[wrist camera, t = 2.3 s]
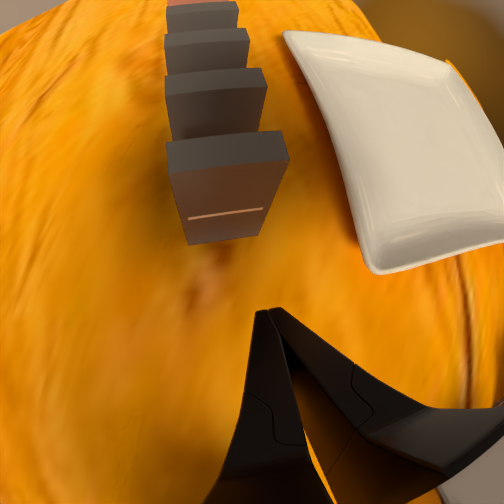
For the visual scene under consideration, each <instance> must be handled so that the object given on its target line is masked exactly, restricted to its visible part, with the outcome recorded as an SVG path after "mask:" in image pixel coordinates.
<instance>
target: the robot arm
mask: <svg viewBox="0 0 504 504" xmlns="http://www.w3.org/2000/svg"><path fill="white" fill-rule="evenodd" d="M303 428H304V429H303ZM304 430H305V432H306V435H307V437H308V439H309V442H310V444H311V446H312V448H313V451H314V453H315V455H316V457H317V460H318V462H319V464H320V466H321V469H322V471H323V473H324V475H325V477H326V480H327V482H328V484H329V486H330V489H331V491H332V493H333V495H334V497H335V500H336V502H337V504H504V404H503V405H501V406H498V407H494V408H483V409H438V408H432V407H429V406H426V405H423V404H421V403H419V402H417V401H415V400H413V399H412V398H410V397H408V396H406V395H404V394H403V393H401V392H399V391H397V390H395V389H394V388H392V387H390V386H388V385H387V384H385V383H383V382H382V381H380V380H378V379H377V378H375V377H374V376H372V375H371V374H369V373H368V372H366V371H365V370H364V369H362V368H361V367H360V366H358V365H357V364H354V362H353V361H351V360H350V359H349V358H347V357H346V356H345V355H343V354H342V353H341V352H339V351H338V350H337V349H335V348H334V347H333V346H331V345H330V344H329V343H327V342H326V341H325V340H323V339H322V338H321V337H319V336H318V335H317V334H315V333H314V332H313V331H311V330H310V329H309V328H308V327H306V326H305V325H304V324H302V323H301V322H300V321H298V320H297V319H296V318H295V317H293V316H292V315H291V314H289V313H288V312H287V311H285V310H284V309H283V308H281V307H276V308H271V309H269V310H267V309H265V310H260V311H256V312H255V317H254V324H253V331H252V338H251V345H250V352H249V358H248V365H247V372H246V378H245V385H244V392H243V397H242V404H241V409H240V414H239V418H238V421H237V425H236V428H235V432H234V435H233V437H232V440H231V443H230V446H229V449H228V452H227V455H226V458H225V461H224V463H223V466H222V469H221V471H220V473H219V476H218V478H217V480H216V482H215V484H214V485H213V487H212V488H211V490H210V491H209V493H208V494H207V496H206V497H205V499H204V500H203V502H202V503H201V504H334V503H333V501H332V499H331V498H330V496H329V494H328V492H327V490H326V488H325V486H324V484H323V482H322V481H321V479H320V477H319V475H318V473H317V471H316V469H315V467H314V465H313V463H312V460H311V457H310V454H309V450H308V447H307V442H306V438H305V433H304Z"/></svg>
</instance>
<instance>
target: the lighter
mask: <svg viewBox="0 0 504 504" xmlns="http://www.w3.org/2000/svg"><path fill="white" fill-rule="evenodd" d="M503 404H504V398H503V399H502V400H500V401H498V402H497V403H496V404H495V405H494V406H493V408H494V407H498V406H501V405H503Z"/></svg>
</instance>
